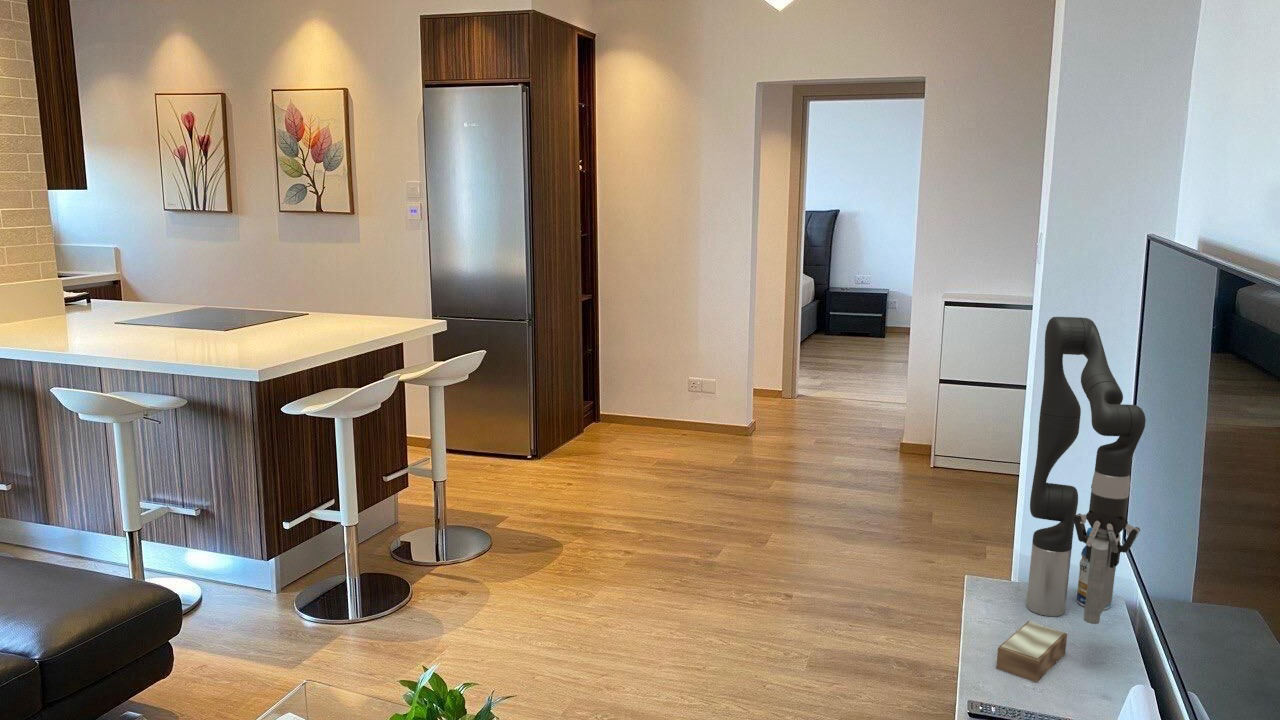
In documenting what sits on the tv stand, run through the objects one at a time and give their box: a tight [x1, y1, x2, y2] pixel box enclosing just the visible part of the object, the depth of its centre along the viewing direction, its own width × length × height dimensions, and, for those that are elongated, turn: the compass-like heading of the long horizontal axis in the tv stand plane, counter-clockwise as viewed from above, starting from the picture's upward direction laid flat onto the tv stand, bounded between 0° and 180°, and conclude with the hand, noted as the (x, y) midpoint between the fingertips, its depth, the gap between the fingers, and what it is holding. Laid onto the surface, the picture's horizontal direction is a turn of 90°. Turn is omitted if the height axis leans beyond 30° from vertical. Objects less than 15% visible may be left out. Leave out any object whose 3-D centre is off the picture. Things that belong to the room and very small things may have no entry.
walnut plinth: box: [995, 620, 1068, 683], centre depth 218 cm, size 18×9×5 cm, turn 138°
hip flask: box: [1083, 528, 1117, 625], centre depth 217 cm, size 16×4×20 cm, turn 143°
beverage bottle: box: [1076, 526, 1117, 611], centre depth 247 cm, size 8×8×20 cm
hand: (1101, 563), depth 216 cm, fingers closed on hip flask, 4 cm apart
